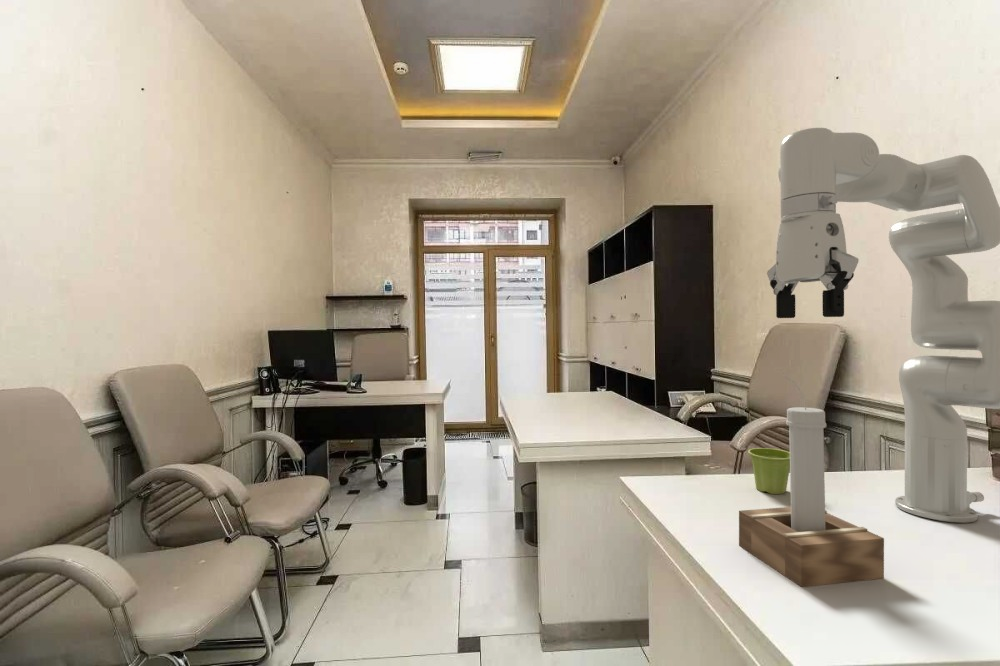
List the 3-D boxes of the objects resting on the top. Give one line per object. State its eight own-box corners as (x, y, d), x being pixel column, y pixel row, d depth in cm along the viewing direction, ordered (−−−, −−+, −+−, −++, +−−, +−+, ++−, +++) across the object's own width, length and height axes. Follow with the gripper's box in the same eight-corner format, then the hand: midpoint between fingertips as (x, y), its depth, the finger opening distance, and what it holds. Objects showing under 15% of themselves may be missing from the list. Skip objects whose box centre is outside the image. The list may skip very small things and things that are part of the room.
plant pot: (803, 497, 110) (803, 458, 110) (760, 497, 110) (760, 458, 110) (780, 483, 119) (780, 447, 119) (740, 484, 120) (740, 448, 119)
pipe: (835, 569, 77) (831, 375, 77) (791, 566, 78) (787, 375, 78) (820, 553, 82) (816, 372, 82) (779, 550, 84) (775, 372, 84)
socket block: (810, 539, 88) (810, 503, 88) (883, 578, 74) (883, 536, 74) (739, 545, 86) (738, 508, 86) (801, 586, 72) (801, 543, 72)
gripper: (877, 197, 72) (877, 316, 72) (788, 222, 89) (788, 318, 89) (831, 195, 71) (832, 316, 71) (750, 221, 88) (751, 318, 88)
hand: (808, 317), depth 80 cm, fingers open, 9 cm apart
